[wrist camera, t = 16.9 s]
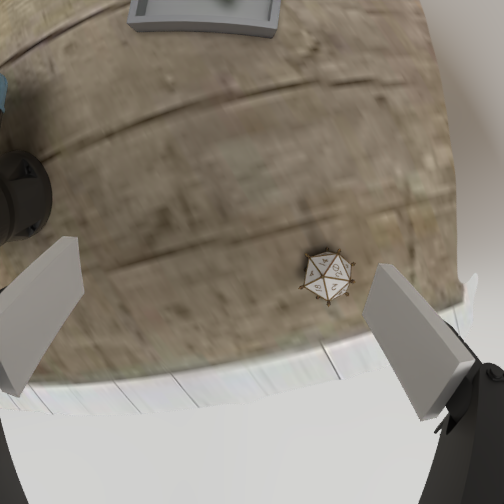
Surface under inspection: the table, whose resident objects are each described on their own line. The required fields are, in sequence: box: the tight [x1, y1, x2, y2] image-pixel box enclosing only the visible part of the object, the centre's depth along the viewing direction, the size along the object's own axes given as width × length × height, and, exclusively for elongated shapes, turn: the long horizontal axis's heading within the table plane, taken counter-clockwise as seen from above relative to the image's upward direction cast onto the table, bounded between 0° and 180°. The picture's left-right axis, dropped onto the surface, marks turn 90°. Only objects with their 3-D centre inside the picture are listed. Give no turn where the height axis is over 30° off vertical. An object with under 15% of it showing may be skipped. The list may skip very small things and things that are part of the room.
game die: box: [298, 247, 356, 307], centre depth 46 cm, size 9×8×10 cm
